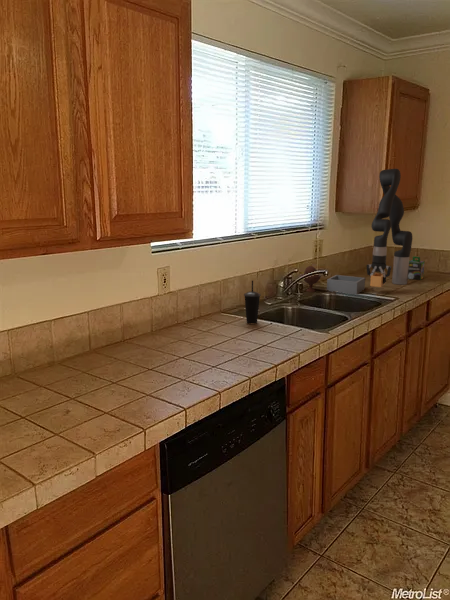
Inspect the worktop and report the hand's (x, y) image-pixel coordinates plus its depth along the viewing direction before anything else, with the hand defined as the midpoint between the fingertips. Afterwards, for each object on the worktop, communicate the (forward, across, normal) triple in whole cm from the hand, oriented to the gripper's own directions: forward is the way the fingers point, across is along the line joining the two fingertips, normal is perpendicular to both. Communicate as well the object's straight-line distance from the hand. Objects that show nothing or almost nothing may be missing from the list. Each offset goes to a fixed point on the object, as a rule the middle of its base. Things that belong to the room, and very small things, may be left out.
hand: (377, 282), depth 297 cm
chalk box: (+7, -10, -58) cm, 59 cm away
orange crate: (+1, 0, 0) cm, 1 cm away
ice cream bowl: (+6, +36, +14) cm, 39 cm away
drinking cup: (+5, +34, +92) cm, 98 cm away
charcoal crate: (+6, +18, +1) cm, 19 cm away
